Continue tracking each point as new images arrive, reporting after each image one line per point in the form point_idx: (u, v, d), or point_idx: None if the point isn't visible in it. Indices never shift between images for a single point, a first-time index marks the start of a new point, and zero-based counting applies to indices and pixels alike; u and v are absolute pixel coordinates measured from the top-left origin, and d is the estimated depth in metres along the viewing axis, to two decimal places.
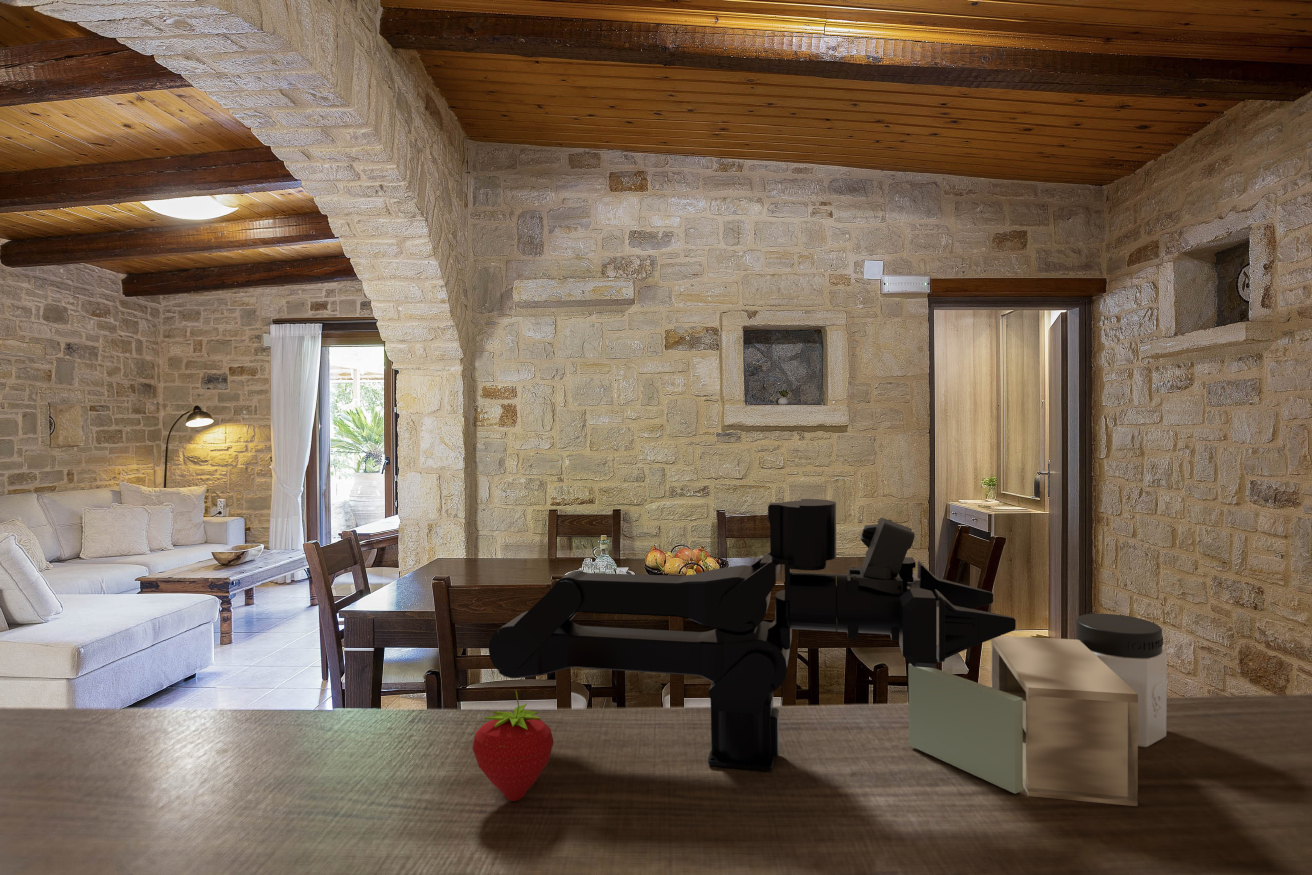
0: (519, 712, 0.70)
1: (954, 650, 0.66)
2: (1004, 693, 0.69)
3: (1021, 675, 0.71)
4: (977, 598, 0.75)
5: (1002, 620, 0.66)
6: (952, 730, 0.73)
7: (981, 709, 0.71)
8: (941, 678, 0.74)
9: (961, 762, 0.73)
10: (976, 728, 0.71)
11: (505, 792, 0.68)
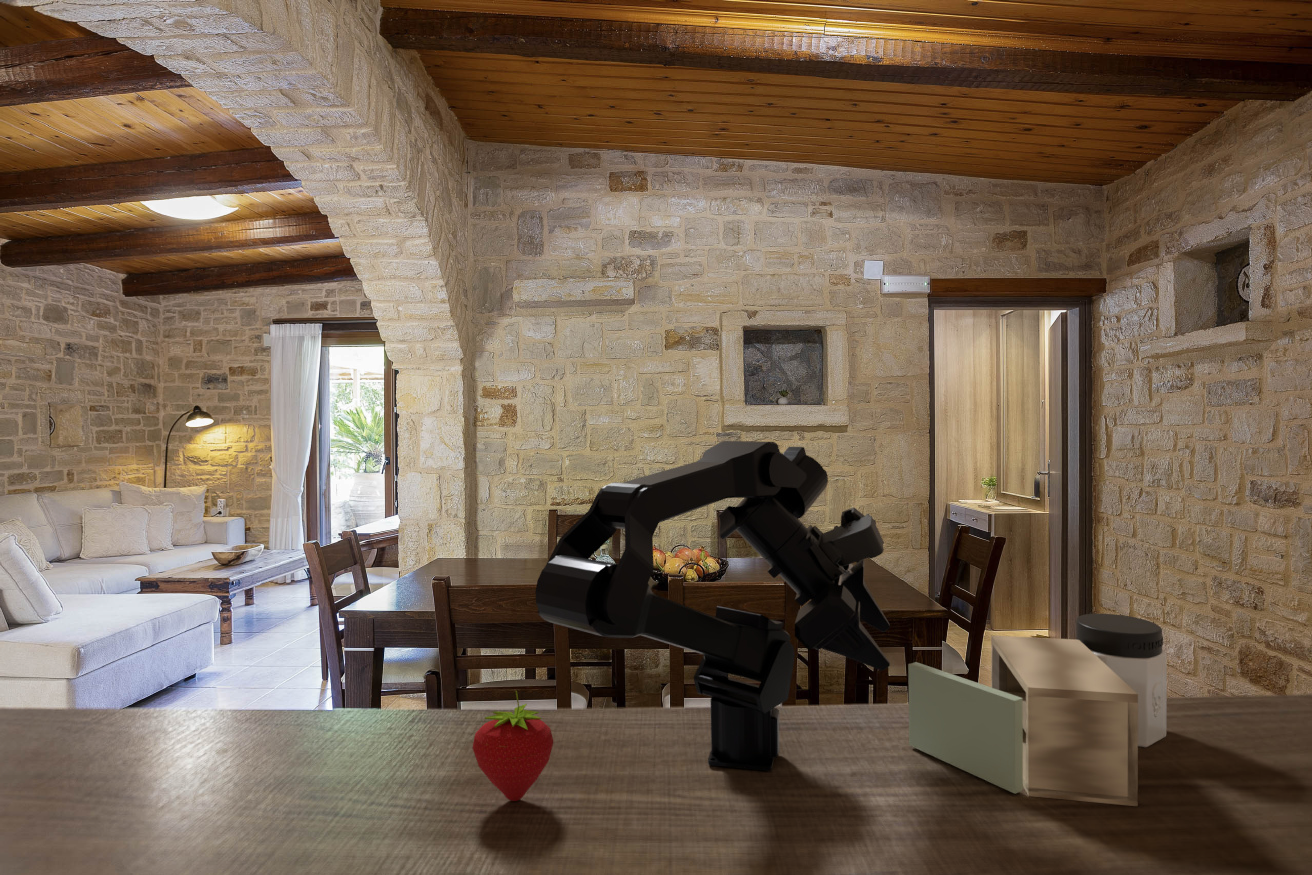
0: (519, 712, 0.70)
1: (830, 648, 0.73)
2: (1004, 693, 0.69)
3: (1021, 675, 0.71)
4: (876, 620, 0.82)
5: (880, 658, 0.73)
6: (952, 730, 0.73)
7: (981, 709, 0.71)
8: (941, 678, 0.74)
9: (961, 762, 0.73)
10: (976, 728, 0.71)
11: (505, 792, 0.68)
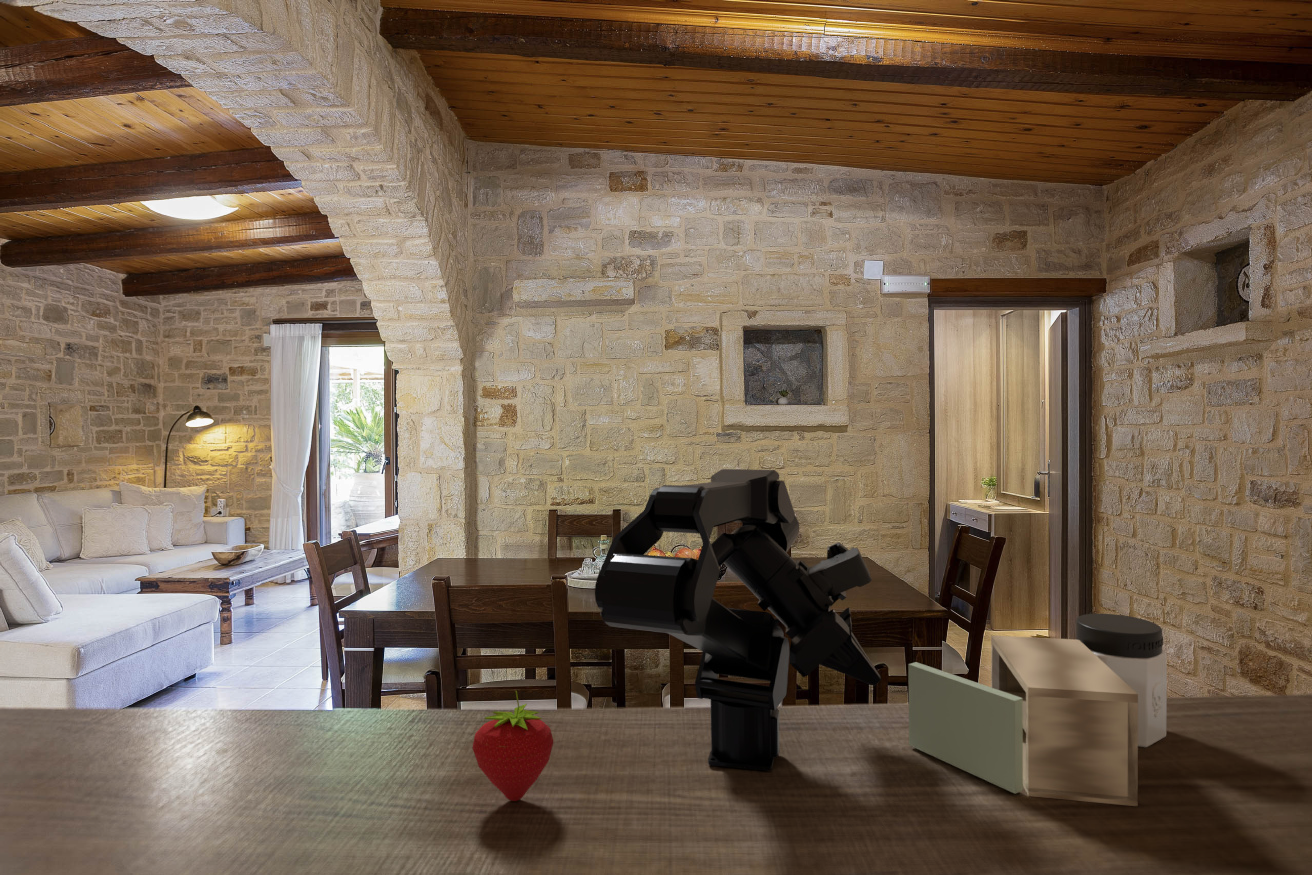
0: (519, 712, 0.70)
1: (825, 663, 0.77)
2: (1004, 693, 0.69)
3: (1021, 675, 0.71)
4: None
5: (872, 673, 0.77)
6: (952, 730, 0.73)
7: (981, 709, 0.71)
8: (941, 678, 0.74)
9: (961, 762, 0.73)
10: (976, 728, 0.71)
11: (505, 792, 0.68)
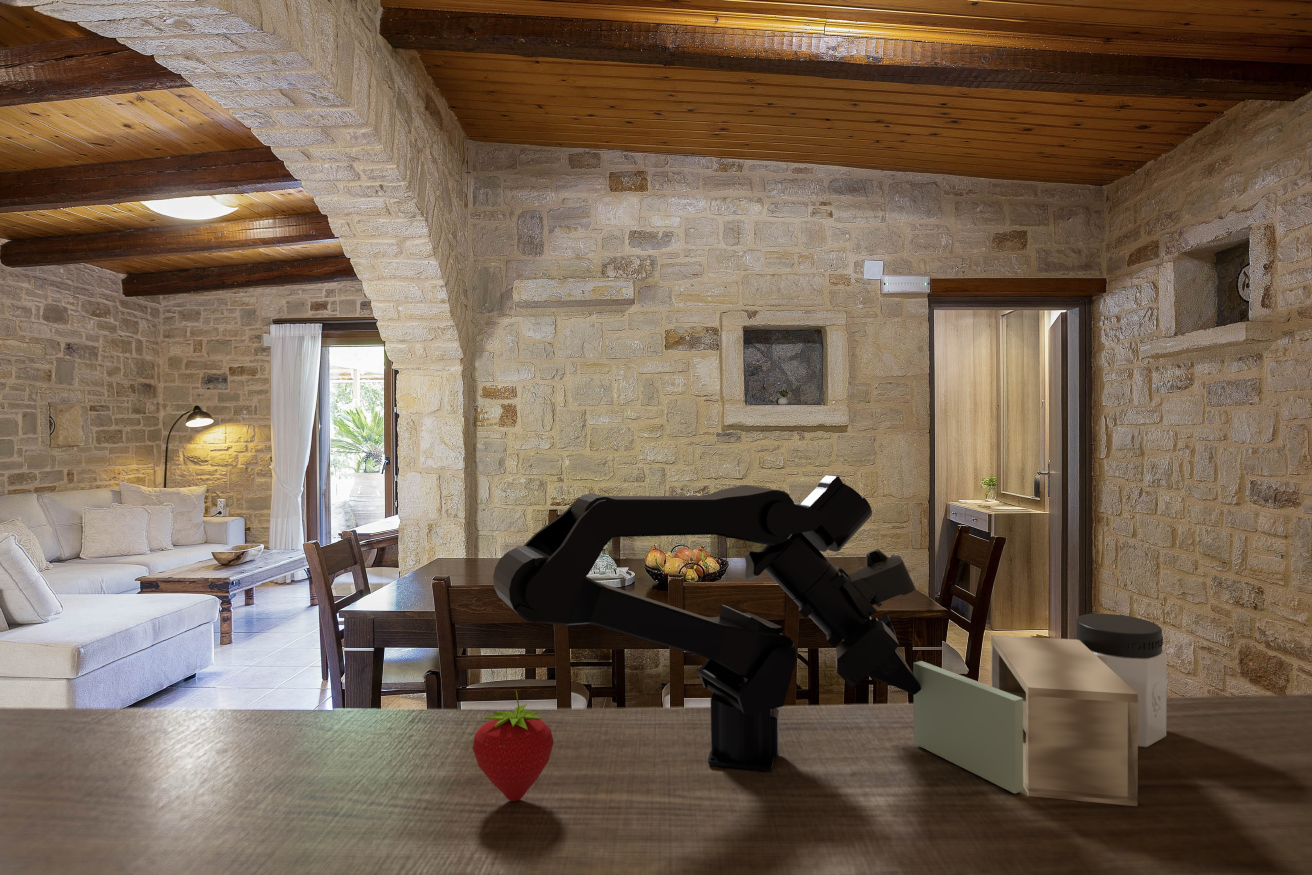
0: (519, 712, 0.70)
1: None
2: (1005, 693, 0.69)
3: (1021, 675, 0.71)
4: None
5: (913, 681, 0.76)
6: (955, 729, 0.74)
7: (982, 708, 0.71)
8: (944, 677, 0.75)
9: (963, 761, 0.73)
10: (977, 727, 0.71)
11: (505, 792, 0.68)
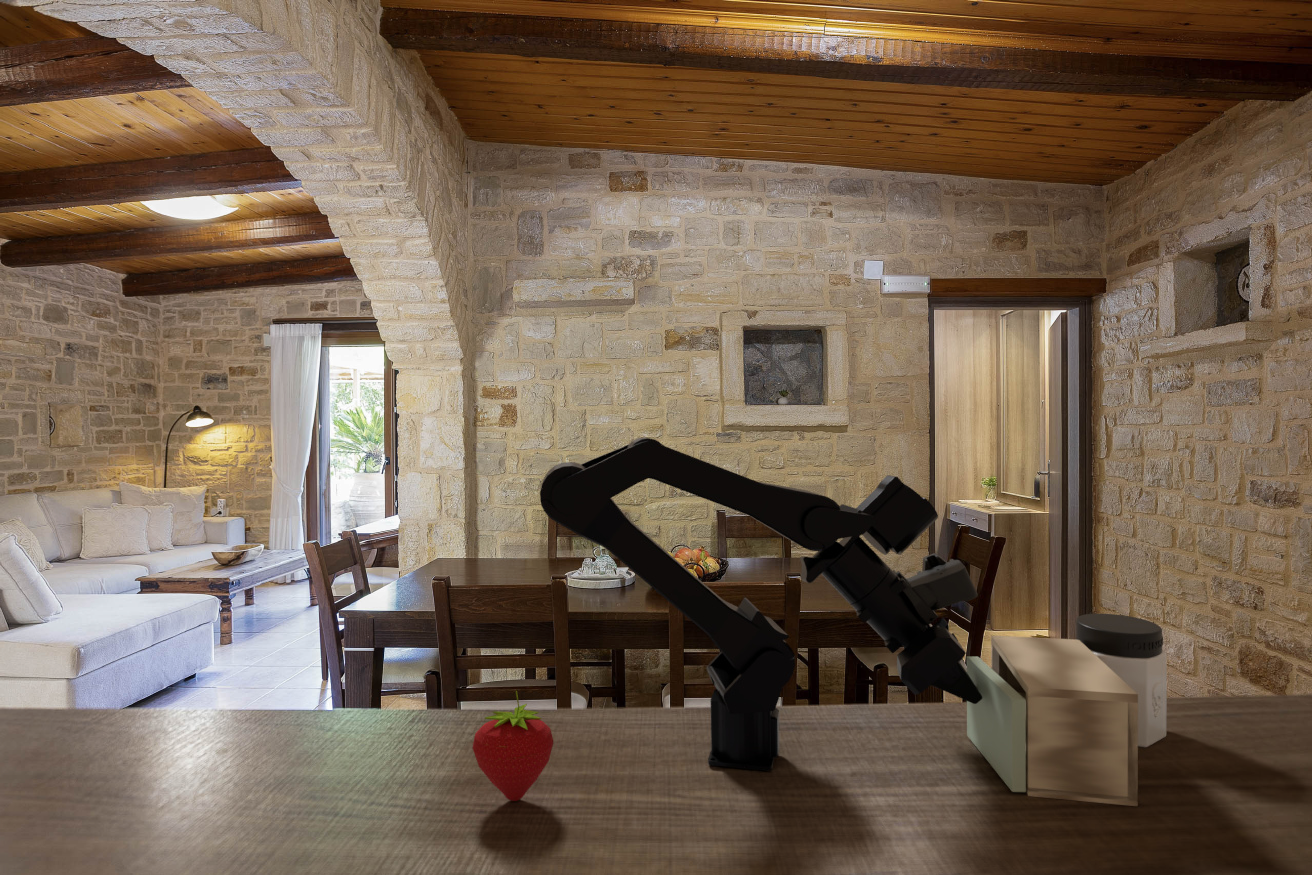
0: (519, 712, 0.70)
1: None
2: (1014, 693, 0.69)
3: (1021, 675, 0.71)
4: None
5: (974, 691, 0.75)
6: (985, 724, 0.75)
7: (997, 705, 0.71)
8: (980, 672, 0.76)
9: (988, 756, 0.74)
10: (995, 723, 0.72)
11: (505, 792, 0.68)
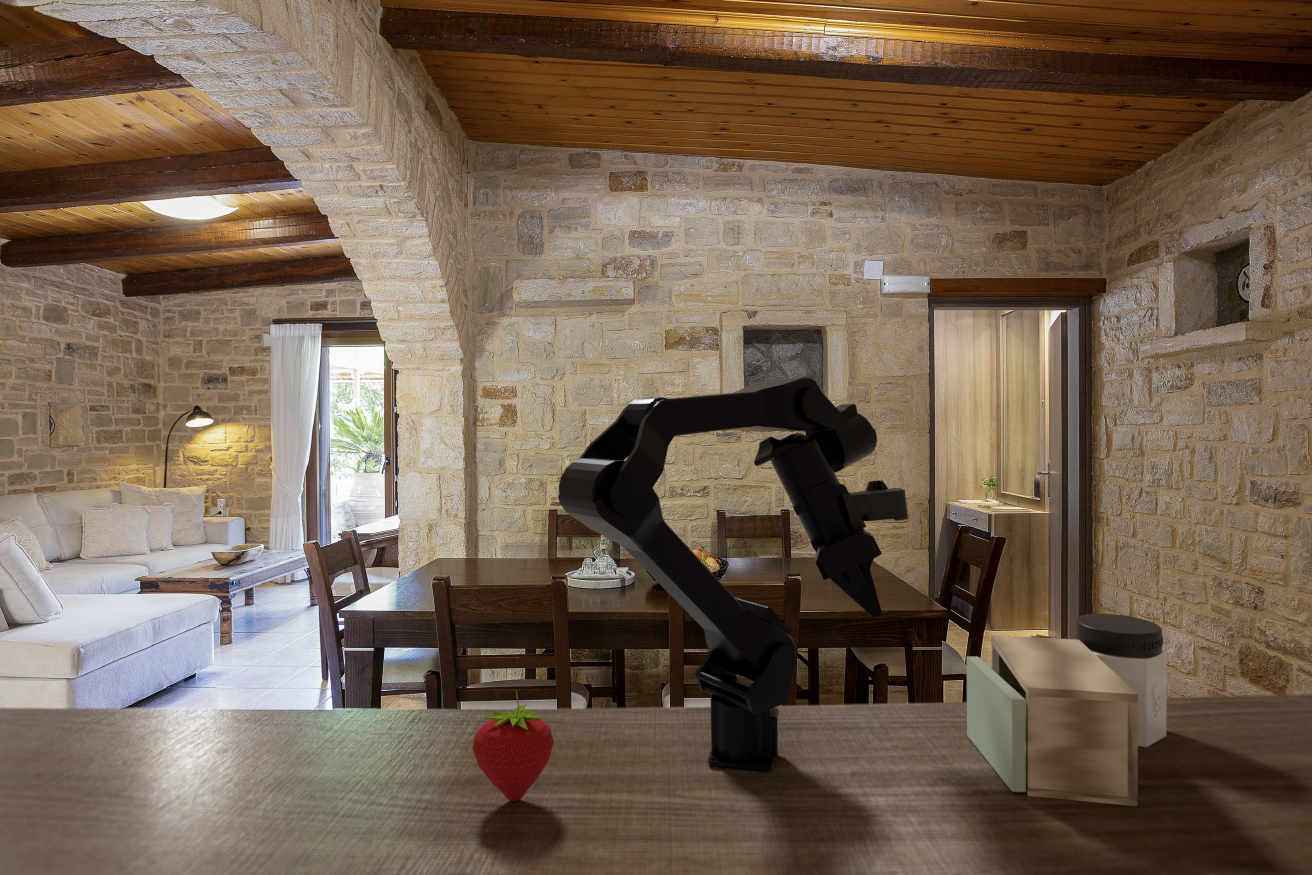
0: (519, 712, 0.70)
1: (837, 581, 0.79)
2: (1014, 693, 0.69)
3: (1021, 675, 0.71)
4: None
5: (876, 605, 0.79)
6: (985, 724, 0.75)
7: (997, 705, 0.71)
8: (980, 672, 0.76)
9: (989, 756, 0.74)
10: (995, 723, 0.72)
11: (505, 792, 0.68)
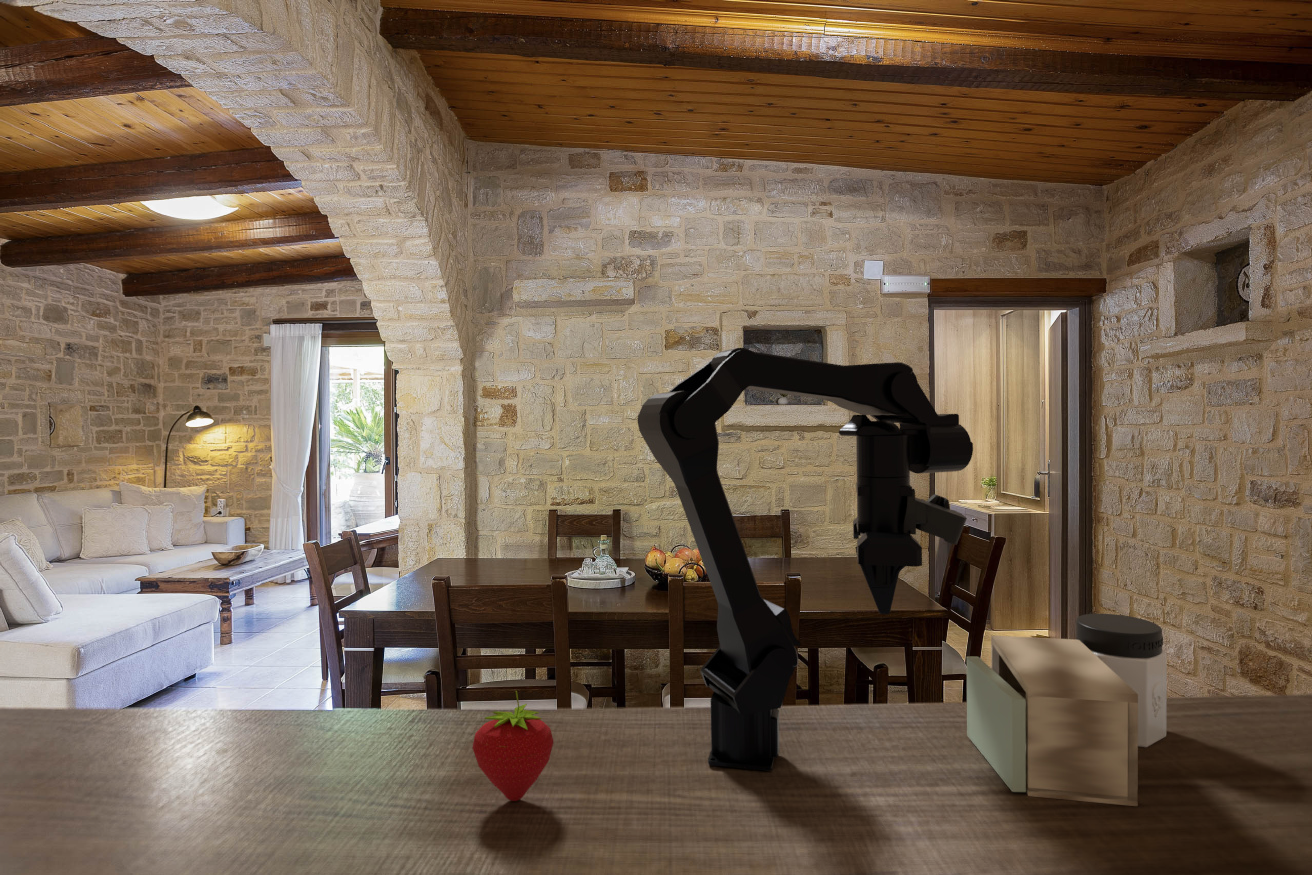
0: (519, 712, 0.70)
1: (864, 568, 0.81)
2: (1014, 693, 0.69)
3: (1021, 675, 0.71)
4: None
5: (888, 604, 0.82)
6: (985, 724, 0.75)
7: (997, 705, 0.71)
8: (980, 672, 0.76)
9: (989, 756, 0.74)
10: (995, 723, 0.72)
11: (505, 792, 0.68)
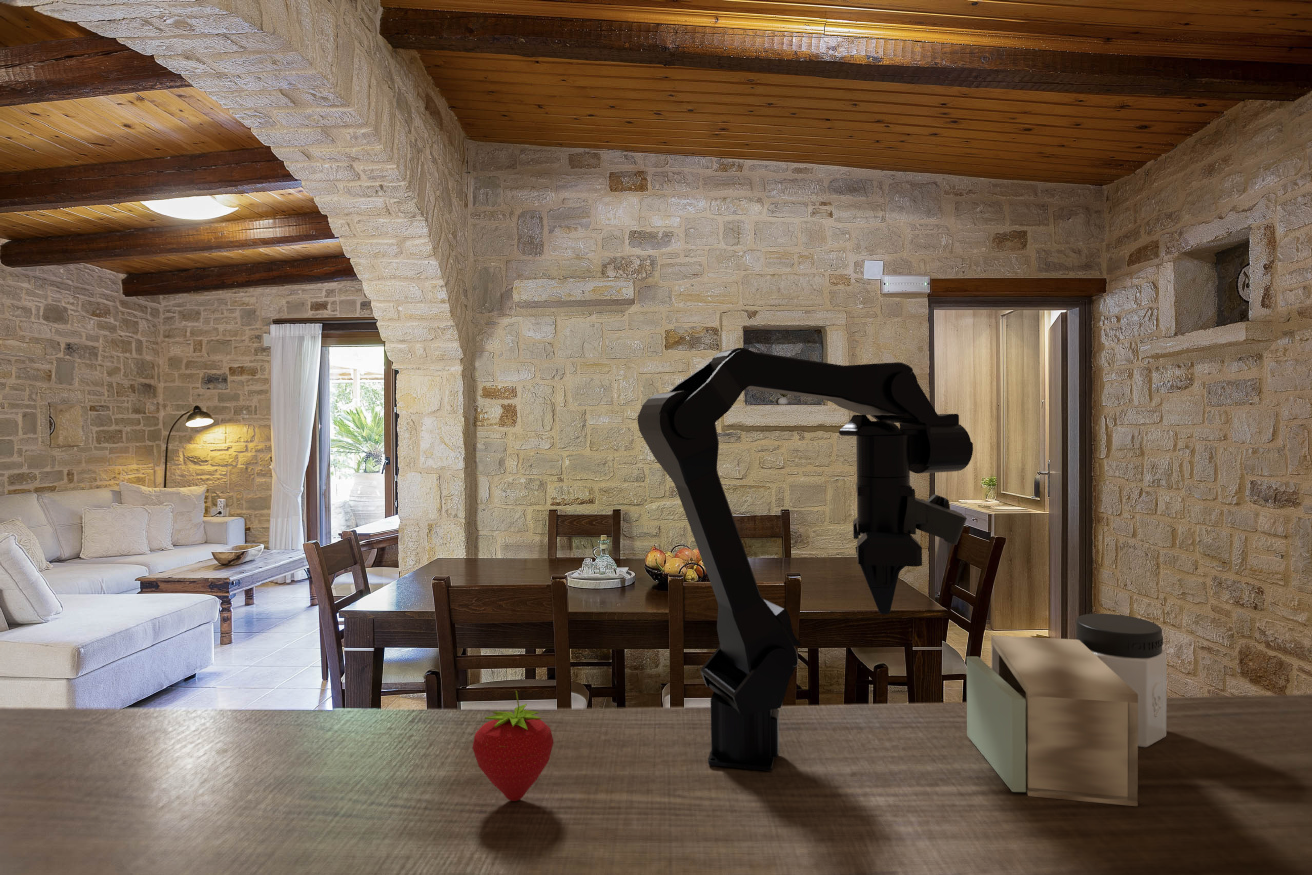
0: (519, 712, 0.70)
1: (864, 568, 0.81)
2: (1014, 693, 0.69)
3: (1021, 675, 0.71)
4: None
5: (888, 604, 0.82)
6: (985, 724, 0.75)
7: (997, 705, 0.71)
8: (980, 672, 0.76)
9: (989, 756, 0.74)
10: (995, 723, 0.72)
11: (505, 792, 0.68)
